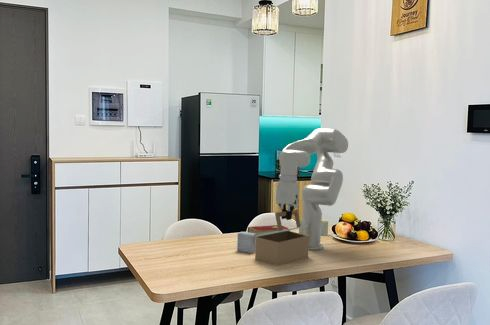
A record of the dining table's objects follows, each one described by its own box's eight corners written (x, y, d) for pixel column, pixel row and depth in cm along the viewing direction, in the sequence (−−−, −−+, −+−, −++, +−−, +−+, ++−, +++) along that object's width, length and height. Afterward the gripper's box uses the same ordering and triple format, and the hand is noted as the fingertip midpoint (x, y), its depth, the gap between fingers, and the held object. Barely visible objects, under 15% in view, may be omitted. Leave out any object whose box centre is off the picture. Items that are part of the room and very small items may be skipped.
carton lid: (256, 236, 203) (252, 217, 204) (287, 230, 219) (283, 212, 220) (277, 232, 194) (273, 212, 195) (308, 226, 210) (304, 208, 211)
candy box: (327, 235, 257) (328, 220, 257) (327, 236, 255) (328, 221, 255) (298, 233, 259) (299, 219, 258) (298, 234, 257) (299, 219, 256)
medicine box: (255, 251, 216) (256, 233, 216) (252, 253, 212) (252, 235, 212) (240, 248, 220) (241, 231, 219) (236, 251, 216) (237, 233, 215)
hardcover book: (247, 233, 255) (247, 226, 254) (280, 231, 264) (280, 224, 263) (256, 238, 244) (257, 230, 243) (290, 236, 253) (291, 228, 252)
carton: (255, 258, 204) (256, 236, 203) (286, 250, 219) (287, 230, 219) (277, 265, 195) (278, 242, 194) (308, 257, 210) (309, 235, 209)
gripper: (269, 177, 206) (267, 217, 207) (297, 180, 195) (295, 223, 196) (280, 176, 211) (278, 215, 213) (307, 180, 200) (305, 221, 202)
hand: (286, 218), depth 205 cm, fingers closed on carton lid, 2 cm apart
